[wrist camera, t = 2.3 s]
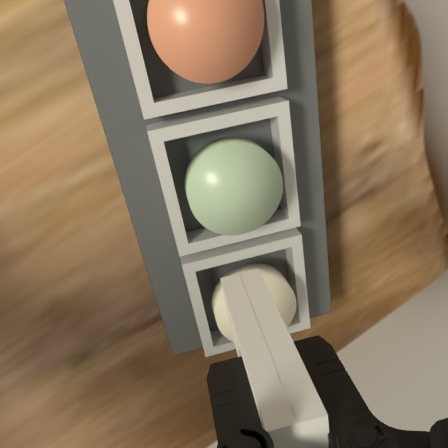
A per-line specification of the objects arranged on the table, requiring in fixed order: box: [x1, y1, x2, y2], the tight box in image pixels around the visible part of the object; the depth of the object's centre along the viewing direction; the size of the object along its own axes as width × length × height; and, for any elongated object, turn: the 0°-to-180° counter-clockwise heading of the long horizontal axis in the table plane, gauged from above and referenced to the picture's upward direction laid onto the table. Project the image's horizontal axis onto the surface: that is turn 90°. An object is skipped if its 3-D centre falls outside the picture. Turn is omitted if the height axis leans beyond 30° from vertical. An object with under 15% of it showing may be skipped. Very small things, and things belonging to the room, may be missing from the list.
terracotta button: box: [147, 0, 264, 84], centre depth 22 cm, size 6×6×2 cm
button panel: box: [64, 0, 331, 357], centre depth 29 cm, size 14×29×5 cm, turn 10°
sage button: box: [185, 136, 283, 235], centre depth 26 cm, size 6×6×2 cm
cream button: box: [212, 263, 297, 342], centre depth 30 cm, size 6×6×2 cm
